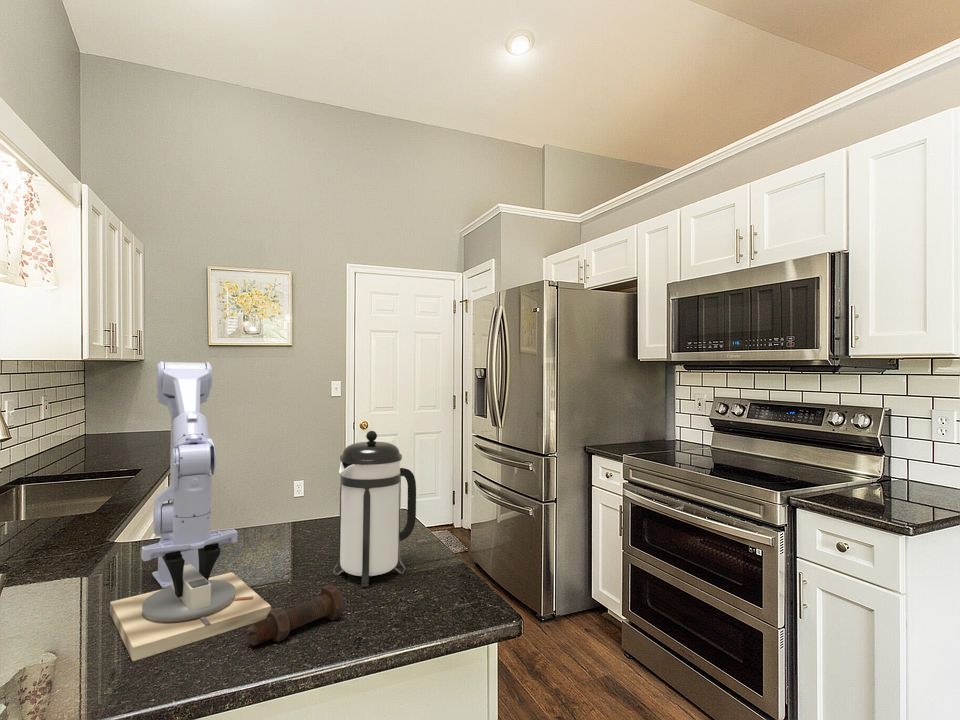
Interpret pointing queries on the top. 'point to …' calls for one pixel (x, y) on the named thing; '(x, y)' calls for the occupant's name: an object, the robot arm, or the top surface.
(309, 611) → the bolt
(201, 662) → the top surface
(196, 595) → the dial
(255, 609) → the dial board
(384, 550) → the coffee press
